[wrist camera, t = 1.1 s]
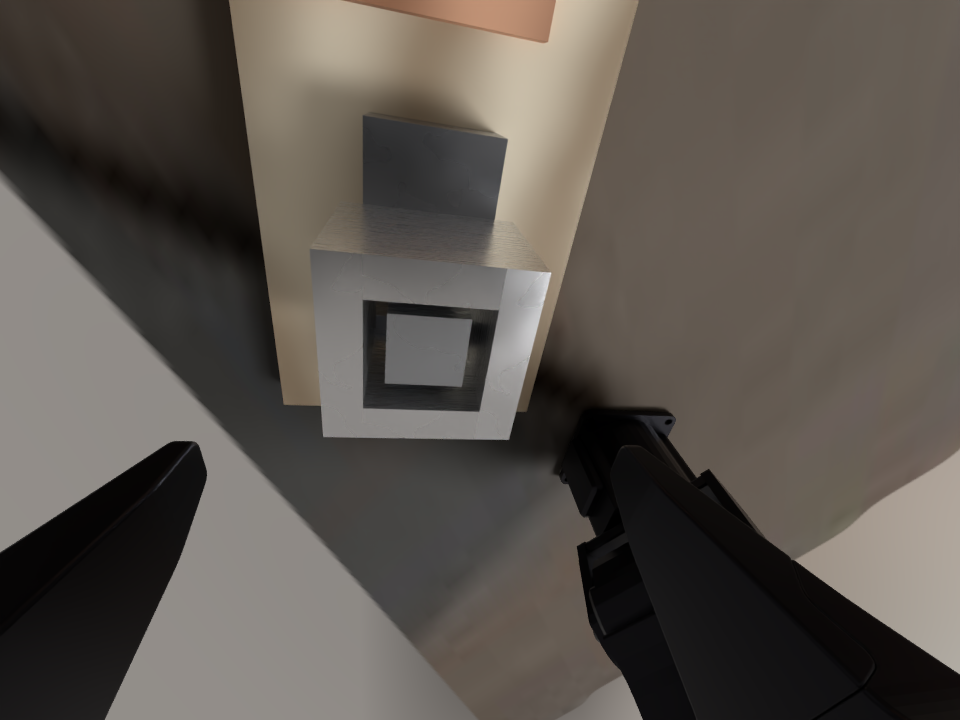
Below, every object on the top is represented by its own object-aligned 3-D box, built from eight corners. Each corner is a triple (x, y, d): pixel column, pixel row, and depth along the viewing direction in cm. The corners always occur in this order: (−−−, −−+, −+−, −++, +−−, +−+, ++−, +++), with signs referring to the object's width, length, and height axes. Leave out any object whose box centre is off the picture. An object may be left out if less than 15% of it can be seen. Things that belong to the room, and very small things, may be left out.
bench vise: (498, 133, 15) (548, 158, 10) (455, 409, 23) (469, 519, 17) (367, 111, 14) (335, 125, 9) (366, 407, 22) (348, 522, 16)
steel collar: (513, 222, 15) (551, 272, 11) (487, 359, 18) (509, 439, 14) (341, 201, 14) (309, 248, 10) (345, 352, 17) (323, 437, 13)
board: (717, -371, 11) (775, -459, 9) (520, 395, 25) (528, 418, 23) (170, -623, 8) (106, -811, 7) (291, 387, 22) (280, 412, 20)
